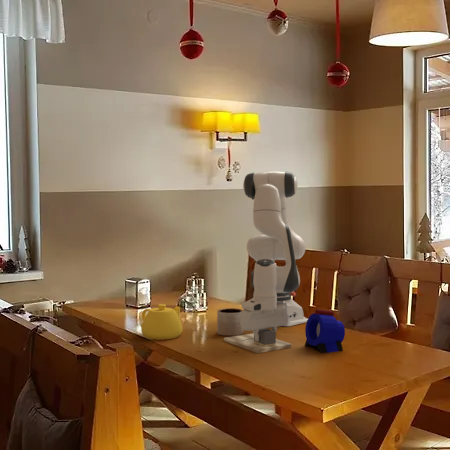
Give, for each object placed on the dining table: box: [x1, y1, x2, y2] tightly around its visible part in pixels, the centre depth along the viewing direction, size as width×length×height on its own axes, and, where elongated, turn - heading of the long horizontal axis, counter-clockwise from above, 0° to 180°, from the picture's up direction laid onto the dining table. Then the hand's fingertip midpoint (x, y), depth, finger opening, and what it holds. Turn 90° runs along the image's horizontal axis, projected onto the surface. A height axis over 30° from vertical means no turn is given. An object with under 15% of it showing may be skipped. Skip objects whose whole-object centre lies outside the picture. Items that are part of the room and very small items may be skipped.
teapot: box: [140, 303, 183, 341], centre depth 263 cm, size 20×19×13 cm
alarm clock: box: [304, 308, 346, 354], centre depth 241 cm, size 12×12×15 cm
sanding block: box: [254, 328, 277, 346], centre depth 243 cm, size 5×7×5 cm
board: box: [223, 332, 293, 354], centre depth 247 cm, size 16×22×1 cm
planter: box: [216, 307, 245, 337], centre depth 264 cm, size 11×11×10 cm
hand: (264, 339), depth 243 cm, fingers closed on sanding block, 5 cm apart
